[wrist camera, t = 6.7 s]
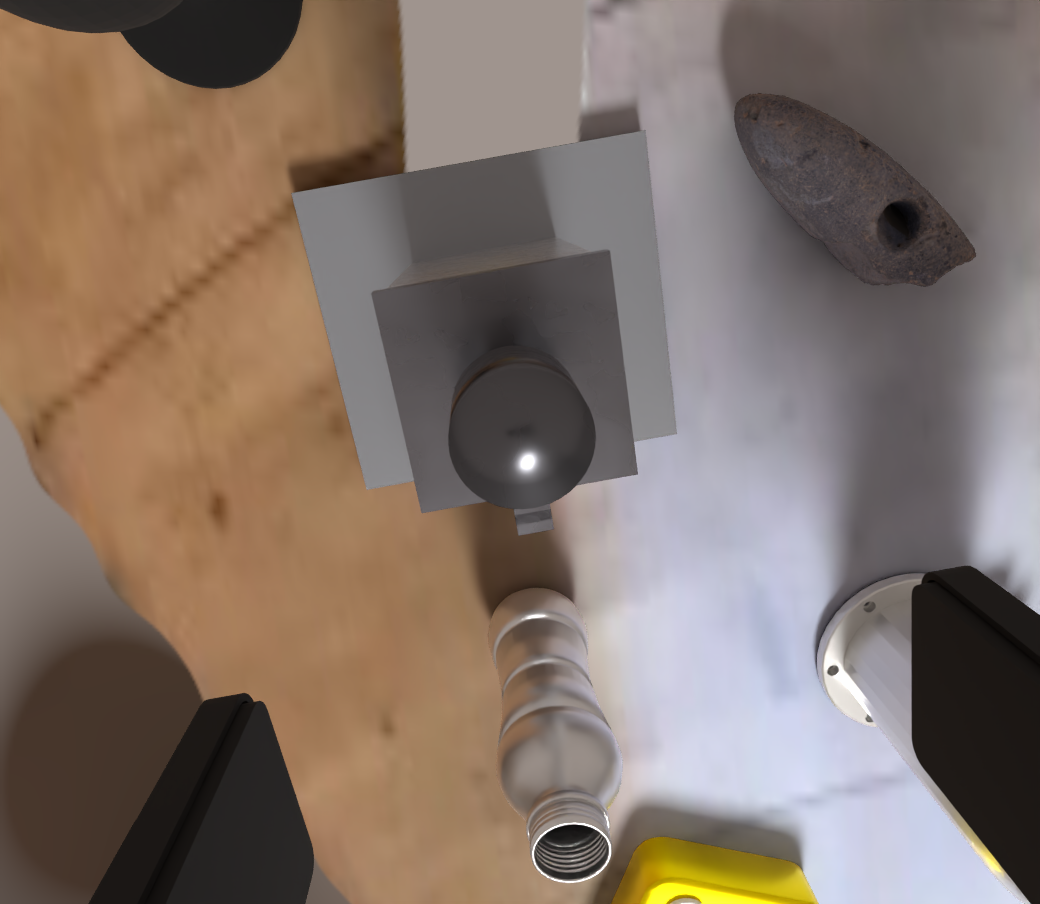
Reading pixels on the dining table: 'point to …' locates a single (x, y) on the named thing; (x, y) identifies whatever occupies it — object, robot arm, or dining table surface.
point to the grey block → (497, 323)
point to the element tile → (708, 876)
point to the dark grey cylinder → (519, 428)
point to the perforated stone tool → (849, 193)
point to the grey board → (473, 227)
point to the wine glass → (183, 32)
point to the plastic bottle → (553, 735)
